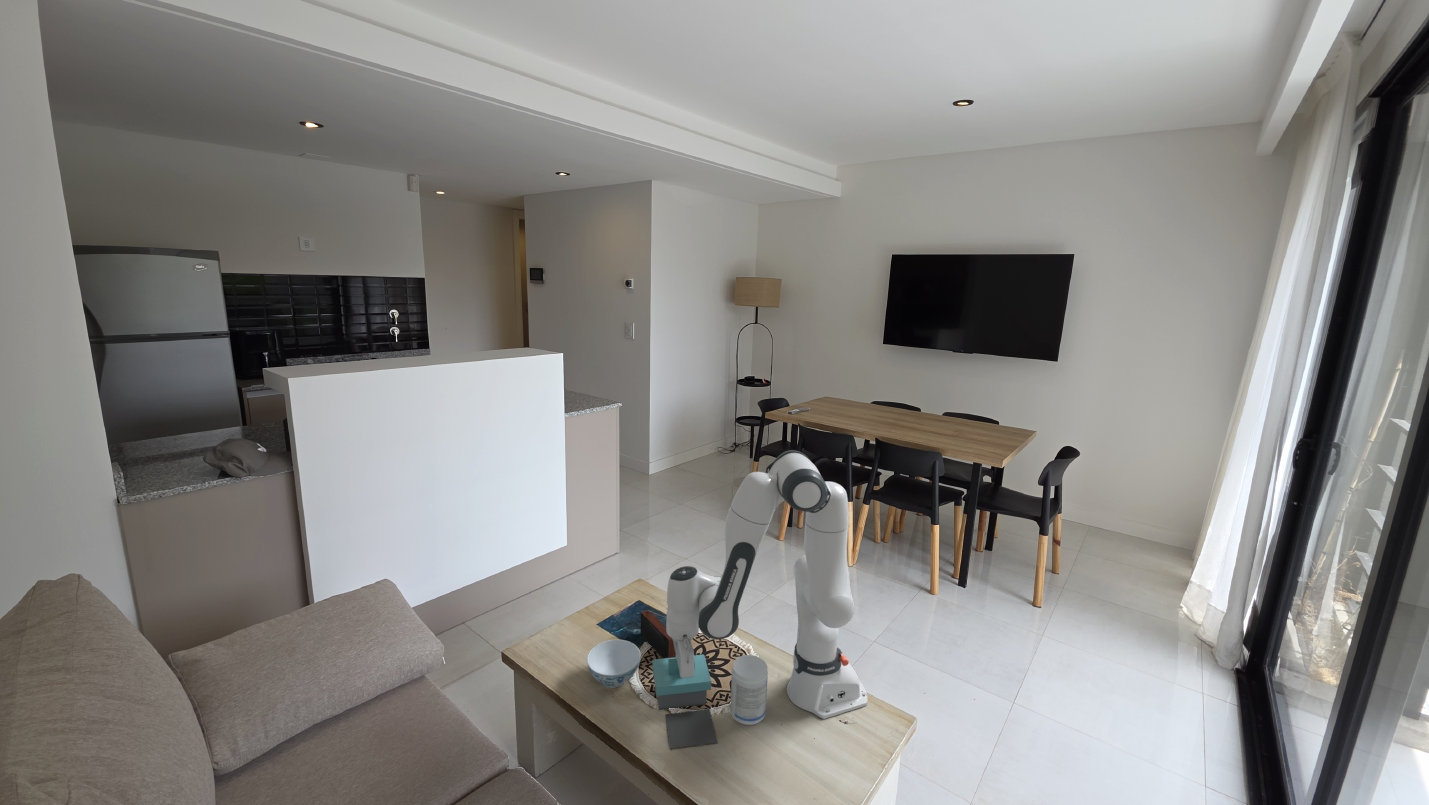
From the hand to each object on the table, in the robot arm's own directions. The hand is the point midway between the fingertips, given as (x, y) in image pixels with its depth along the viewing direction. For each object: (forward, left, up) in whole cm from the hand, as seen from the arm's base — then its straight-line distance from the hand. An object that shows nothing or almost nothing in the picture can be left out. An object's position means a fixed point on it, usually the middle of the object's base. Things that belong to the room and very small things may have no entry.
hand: (681, 668), depth 156 cm
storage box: (0, 0, -9) cm, 9 cm away
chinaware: (+18, -9, -9) cm, 22 cm away
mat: (-1, +12, -9) cm, 15 cm away
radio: (+4, -20, -9) cm, 22 cm away
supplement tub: (-17, +9, -9) cm, 21 cm away
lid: (0, 0, -3) cm, 3 cm away
